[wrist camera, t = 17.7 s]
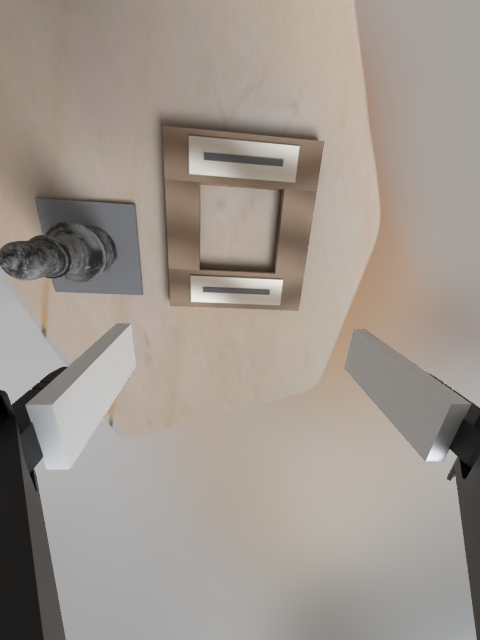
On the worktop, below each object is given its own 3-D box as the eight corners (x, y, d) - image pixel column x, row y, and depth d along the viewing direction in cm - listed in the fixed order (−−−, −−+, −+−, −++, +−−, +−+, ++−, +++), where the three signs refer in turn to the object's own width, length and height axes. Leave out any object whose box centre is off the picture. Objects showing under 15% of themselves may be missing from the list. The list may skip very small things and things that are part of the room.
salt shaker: (54, 232, 26) (-74, 234, 15) (103, 215, 26) (12, 203, 15) (83, 283, 28) (-10, 318, 17) (129, 267, 28) (66, 292, 17)
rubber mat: (37, 198, 25) (35, 197, 25) (135, 205, 26) (134, 204, 26) (57, 290, 29) (55, 291, 28) (143, 294, 29) (142, 295, 29)
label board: (164, 130, 24) (161, 124, 22) (319, 145, 25) (325, 140, 24) (172, 303, 30) (169, 306, 29) (295, 307, 31) (299, 311, 30)
